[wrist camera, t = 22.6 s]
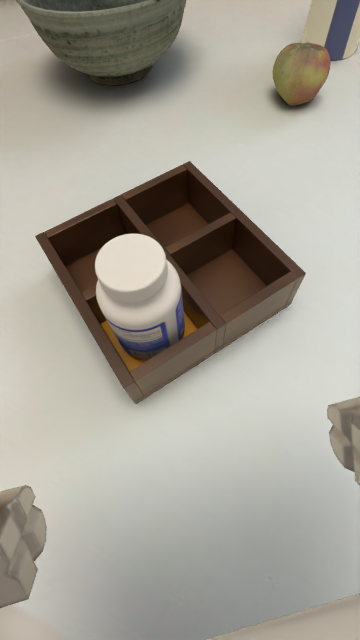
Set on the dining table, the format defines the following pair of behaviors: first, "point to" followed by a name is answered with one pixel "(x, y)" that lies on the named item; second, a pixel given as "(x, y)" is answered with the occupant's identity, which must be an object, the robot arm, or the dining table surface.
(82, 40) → the bowl
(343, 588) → the dining table surface
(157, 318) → the pill bottle
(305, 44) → the apple
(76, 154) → the dining table surface
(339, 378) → the dining table surface
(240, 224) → the grid
